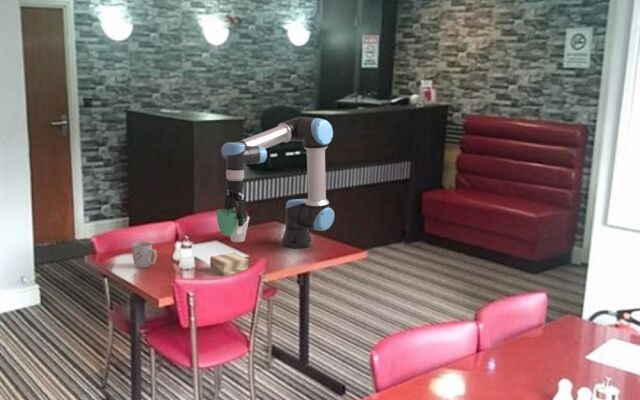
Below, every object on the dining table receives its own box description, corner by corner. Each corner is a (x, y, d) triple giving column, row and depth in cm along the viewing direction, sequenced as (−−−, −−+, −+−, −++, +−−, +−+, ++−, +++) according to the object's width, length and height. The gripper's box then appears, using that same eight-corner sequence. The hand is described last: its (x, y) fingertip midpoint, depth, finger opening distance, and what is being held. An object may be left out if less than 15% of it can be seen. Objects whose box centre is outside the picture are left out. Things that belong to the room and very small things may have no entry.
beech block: (234, 265, 307) (234, 252, 306) (248, 272, 298) (248, 259, 297) (210, 269, 300) (210, 256, 299) (223, 277, 291) (223, 263, 290)
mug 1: (161, 265, 303) (161, 243, 301) (151, 270, 295) (151, 248, 293) (139, 262, 306) (139, 240, 304) (128, 267, 298) (128, 245, 296)
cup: (247, 244, 343) (248, 220, 341) (224, 243, 344) (224, 219, 341) (250, 238, 355) (251, 215, 353) (227, 237, 355) (228, 214, 353)
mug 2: (223, 237, 287) (223, 214, 285) (211, 233, 294) (211, 210, 292) (252, 233, 296) (253, 210, 294) (239, 229, 304) (240, 206, 302)
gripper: (215, 176, 297) (215, 227, 301) (239, 183, 281) (238, 237, 285) (230, 175, 302) (230, 225, 306) (255, 182, 285) (254, 235, 290)
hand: (234, 231), depth 296 cm, fingers closed on mug 2, 8 cm apart
